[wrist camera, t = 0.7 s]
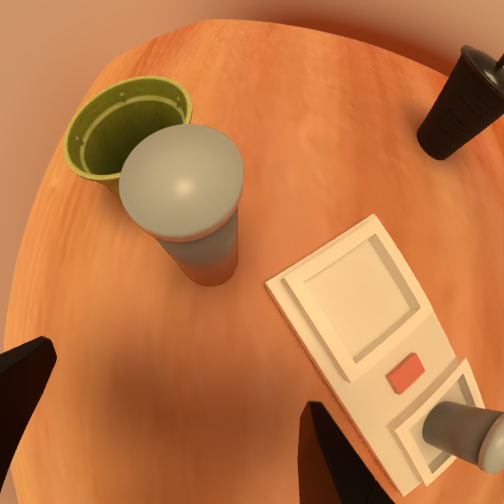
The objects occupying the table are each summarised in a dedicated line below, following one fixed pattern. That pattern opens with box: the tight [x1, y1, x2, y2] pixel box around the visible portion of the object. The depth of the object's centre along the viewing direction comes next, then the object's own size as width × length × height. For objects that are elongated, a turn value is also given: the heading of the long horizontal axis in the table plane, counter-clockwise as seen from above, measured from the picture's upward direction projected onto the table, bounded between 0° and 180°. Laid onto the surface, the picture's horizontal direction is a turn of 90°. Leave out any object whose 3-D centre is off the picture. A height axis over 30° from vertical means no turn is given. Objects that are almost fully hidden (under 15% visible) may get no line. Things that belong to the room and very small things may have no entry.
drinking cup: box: [417, 45, 504, 160], centre depth 18 cm, size 8×8×20 cm
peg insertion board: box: [264, 213, 504, 497], centre depth 16 cm, size 11×25×10 cm, turn 32°
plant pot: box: [63, 76, 192, 198], centre depth 20 cm, size 9×9×9 cm
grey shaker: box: [119, 124, 244, 286], centre depth 16 cm, size 5×5×13 cm
